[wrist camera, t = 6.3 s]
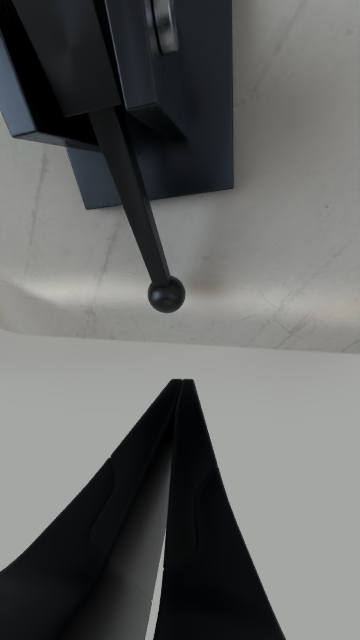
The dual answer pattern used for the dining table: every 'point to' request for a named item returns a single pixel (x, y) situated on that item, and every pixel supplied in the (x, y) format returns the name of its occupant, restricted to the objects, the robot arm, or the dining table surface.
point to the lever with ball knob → (99, 114)
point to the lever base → (138, 97)
